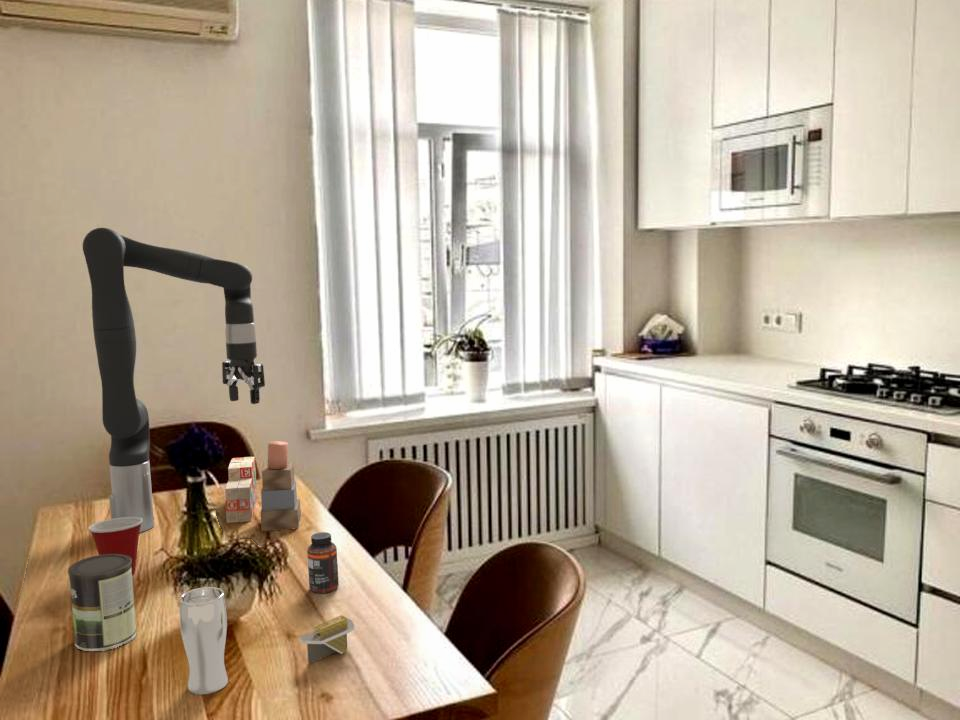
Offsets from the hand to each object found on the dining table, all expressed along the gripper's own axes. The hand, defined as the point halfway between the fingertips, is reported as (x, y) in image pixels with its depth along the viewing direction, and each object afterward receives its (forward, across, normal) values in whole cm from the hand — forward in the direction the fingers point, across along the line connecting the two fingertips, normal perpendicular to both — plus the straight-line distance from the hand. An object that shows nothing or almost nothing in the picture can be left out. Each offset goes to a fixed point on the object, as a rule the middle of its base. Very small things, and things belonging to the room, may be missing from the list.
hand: (244, 402), depth 212 cm
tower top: (+20, -13, +1) cm, 24 cm away
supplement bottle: (+30, -53, +23) cm, 65 cm away
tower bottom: (+30, -14, +1) cm, 33 cm away
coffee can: (+30, -37, +61) cm, 77 cm away
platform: (+31, -75, +43) cm, 92 cm away
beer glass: (+30, -66, +60) cm, 94 cm away
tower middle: (+25, -13, +1) cm, 29 cm away
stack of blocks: (+30, +5, -1) cm, 31 cm away
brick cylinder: (+15, -14, +1) cm, 20 cm away
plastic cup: (+30, -11, +43) cm, 54 cm away
